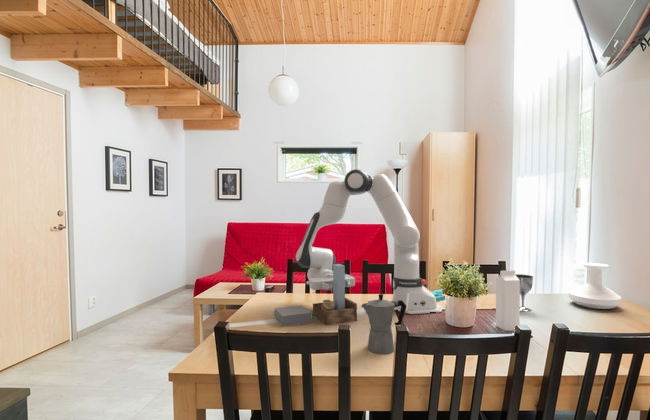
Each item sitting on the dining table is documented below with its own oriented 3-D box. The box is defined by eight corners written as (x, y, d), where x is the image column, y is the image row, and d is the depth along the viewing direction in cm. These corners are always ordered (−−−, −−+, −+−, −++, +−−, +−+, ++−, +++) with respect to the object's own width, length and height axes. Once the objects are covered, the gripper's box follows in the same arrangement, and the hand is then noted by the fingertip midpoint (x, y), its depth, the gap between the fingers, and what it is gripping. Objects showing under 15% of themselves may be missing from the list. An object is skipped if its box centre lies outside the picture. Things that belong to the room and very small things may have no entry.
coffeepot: (365, 356, 117) (365, 298, 117) (357, 345, 126) (357, 291, 126) (412, 352, 120) (412, 296, 120) (400, 341, 129) (400, 289, 129)
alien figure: (474, 304, 180) (463, 294, 199) (474, 299, 180) (463, 290, 199) (431, 303, 182) (424, 293, 201) (431, 298, 182) (424, 289, 201)
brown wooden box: (341, 311, 166) (341, 295, 166) (356, 320, 153) (356, 303, 153) (312, 315, 160) (312, 299, 160) (325, 325, 147) (325, 307, 147)
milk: (519, 330, 141) (520, 271, 140) (504, 331, 140) (505, 272, 140) (509, 325, 147) (510, 269, 146) (495, 325, 146) (495, 269, 146)
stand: (301, 314, 162) (301, 305, 162) (311, 322, 151) (311, 312, 151) (274, 317, 157) (274, 308, 157) (282, 326, 146) (282, 316, 146)
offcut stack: (327, 315, 160) (327, 298, 160) (335, 321, 152) (335, 303, 152) (321, 316, 159) (320, 299, 158) (328, 322, 151) (328, 303, 151)
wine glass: (509, 308, 171) (509, 275, 171) (520, 305, 175) (520, 273, 174) (525, 312, 164) (525, 278, 164) (536, 310, 167) (537, 276, 167)
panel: (339, 315, 160) (339, 263, 160) (344, 318, 156) (344, 265, 155) (333, 316, 159) (333, 264, 159) (338, 319, 155) (338, 266, 154)
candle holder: (612, 314, 161) (613, 269, 160) (561, 304, 177) (561, 263, 176) (628, 307, 172) (628, 265, 172) (578, 298, 189) (578, 260, 188)
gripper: (304, 274, 165) (316, 280, 153) (346, 271, 173) (360, 276, 161) (304, 289, 165) (316, 296, 153) (346, 285, 173) (360, 291, 161)
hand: (339, 286), depth 157 cm, fingers open, 8 cm apart
